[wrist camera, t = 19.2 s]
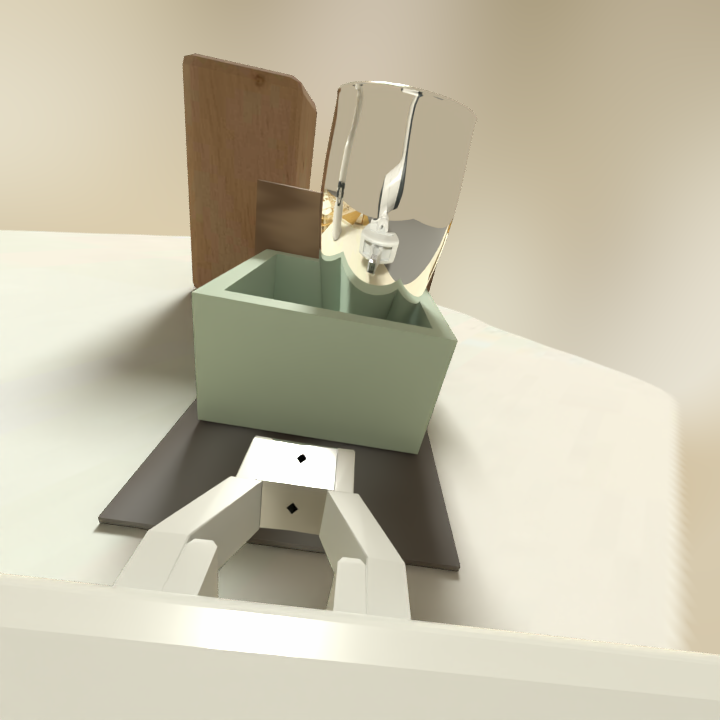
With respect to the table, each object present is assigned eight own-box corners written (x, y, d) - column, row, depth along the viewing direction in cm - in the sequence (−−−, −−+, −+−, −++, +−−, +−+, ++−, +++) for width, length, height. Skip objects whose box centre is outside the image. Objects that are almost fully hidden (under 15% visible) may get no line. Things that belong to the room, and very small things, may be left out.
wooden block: (283, 308, 36) (302, 74, 27) (189, 291, 35) (176, 45, 26) (300, 285, 44) (319, 103, 35) (226, 271, 44) (225, 83, 35)
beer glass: (400, 422, 19) (498, 100, 12) (284, 394, 19) (315, 65, 12) (403, 367, 25) (469, 134, 18) (315, 346, 25) (347, 110, 19)
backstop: (99, 522, 12) (-1, 153, 7) (258, 326, 30) (265, 180, 25) (458, 571, 13) (617, 278, 8) (406, 352, 31) (443, 217, 26)
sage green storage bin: (197, 419, 17) (191, 292, 14) (262, 332, 28) (266, 248, 25) (417, 454, 18) (457, 340, 15) (399, 357, 29) (420, 278, 26)
